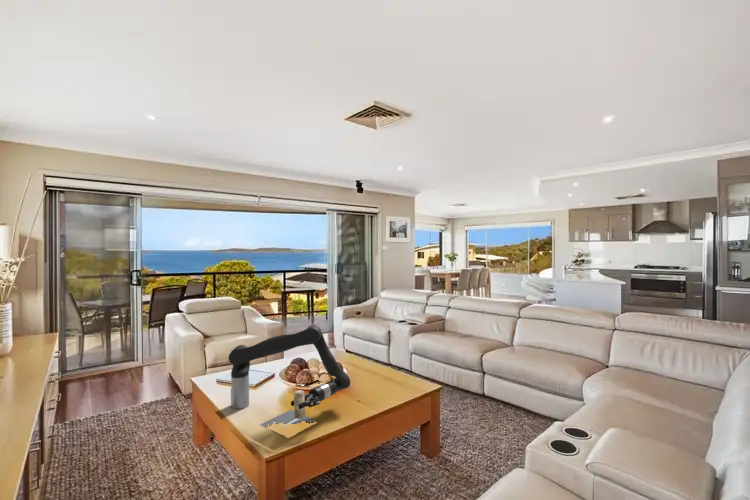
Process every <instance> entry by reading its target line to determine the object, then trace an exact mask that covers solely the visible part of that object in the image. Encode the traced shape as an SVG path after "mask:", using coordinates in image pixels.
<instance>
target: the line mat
mask: <svg viewBox="0 0 750 500" xmlns="http://www.w3.org/2000/svg"><path fill="white" fill-rule="evenodd" d="M302 421H305V422H306V423H309V424H310V423H314V421H315V422H317V421H318V420H316V419H314V418H312V417H309V416H307V415H305V417H304V418H301V419H296V418H295V417H294V409H289V410H287V411H285V412H283V413H281V414H279V415H277V416H275V417H272V418H271V419H269V420H267V421H264V422H262V423H260V424H259V425H260V426H262V427H264V428H265V429H267V427H268V424H269V427H270V426H271V425H272V424H273V422H276V423H275V424H279V423H282V422H283V424H286V425H284V426H282V427H285V426H287V425H289V424H297V423H301V422H302ZM310 421H311V422H310Z"/></svg>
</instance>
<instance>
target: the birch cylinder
mask: <svg viewBox="0 0 750 500" xmlns="http://www.w3.org/2000/svg"><path fill="white" fill-rule="evenodd" d="M304 394H305V391H304V390H300V389H299V390H295V391H293V400H294V409H293V411H294V417H295V418H296V419H301V418H304V417H305V416H306V415H305V414H306V413H305V412H306V411H305V409H306V407H304V408H302V409H299V404H301V403H303V402H305V398H304Z"/></svg>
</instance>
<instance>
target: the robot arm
mask: <svg viewBox="0 0 750 500" xmlns="http://www.w3.org/2000/svg"><path fill="white" fill-rule="evenodd" d="M309 345H313V346H314V347H315V349H316V351H317V354H318V355H319V357H320V360H321V363H322V364H323V367H324V369H325V370H326V372H327V373H328V375H329V376H331V377H335V378H333V379H331V380H329V381H327V382H325V383H322V384H319V385H318V386H315V387H313V388H311V389H310V390H309V392H307V393H304V398H305V402H303V403H301V404H299V409H302V408H304V407H305V408H312V407H313V408H314V407H316V406H319V405H320V404H321V402H322V401H324V400H326V399H328V398H330V397H331V396H333V395H335V394H336V393H337V392H339V391H342V390H344V389H348V388H349V387H350V386H351V379H350V377H349V375H348V374H347V373H346V372H345V371H344V369H343V368H341V367H340V365H339V363H338V362H337V360H336V358H335V357H334V355H333V354H332V352H331V350H330V348H329V346H328V345H327V342H326V340H325V338H324V335H323V332H322V329H321V327H319V326H318V325H317V324H316V325H315V324H311V325H309V326H308V327H307V328H305V329H304V330H301V331H298V332H295V333H290V334H279V335H276V336H273V337H269V338H266V339H264V340H262V341H260V342H258V343H256V344H254V345H251V346H246V345H245V344H244V345H243V344H239V345H237V346H236V347H234V348H233V349H232V350H231V351H230V352H229V355H228V362H229V363H230V364H232V369H231V373H230V381H231V382H230V383H231V384H230V385H231V388H230V405H231V408H232V409H235V410H242V409H245V408H247V407H248V406H249V405H250V377H249V375H250V372H249V371H250V366H251V361H253V360H256V359H261V358H265V357H269V356H273V355H277V354H281V353H283V352H286V351H289V350H292V349H295V348H297V347H303V346H309ZM290 406H291V407H293V406H294V399H293V400H292V401H290Z"/></svg>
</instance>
